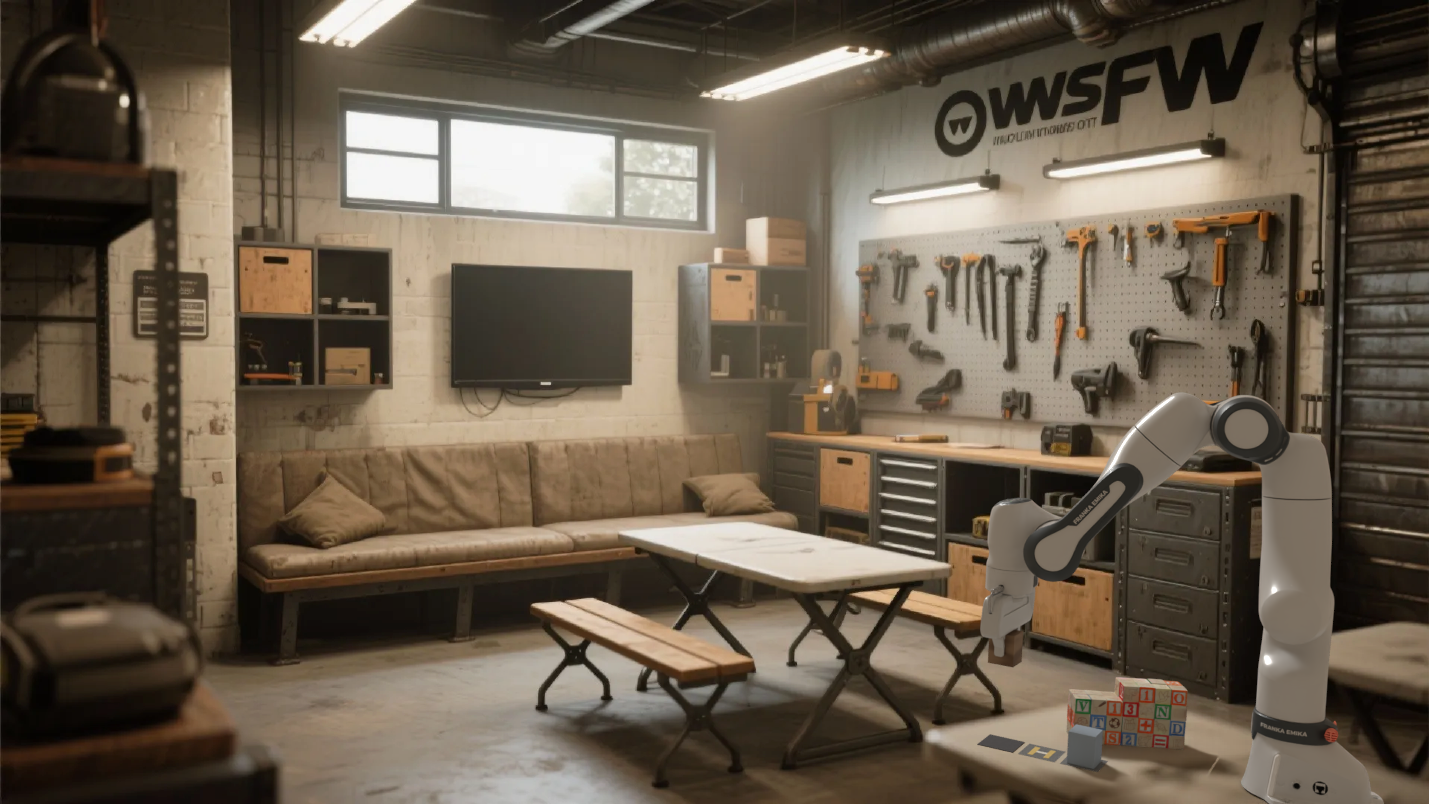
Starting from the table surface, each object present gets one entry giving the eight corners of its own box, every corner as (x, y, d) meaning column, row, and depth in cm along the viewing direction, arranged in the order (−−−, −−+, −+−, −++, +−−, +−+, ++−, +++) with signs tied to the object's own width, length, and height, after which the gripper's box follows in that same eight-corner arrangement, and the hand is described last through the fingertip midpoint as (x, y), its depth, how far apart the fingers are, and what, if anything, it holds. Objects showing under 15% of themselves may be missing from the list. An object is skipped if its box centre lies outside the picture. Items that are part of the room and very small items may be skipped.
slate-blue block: (1101, 761, 221) (1102, 729, 220) (1093, 769, 216) (1095, 737, 216) (1074, 755, 223) (1076, 724, 223) (1066, 762, 219) (1068, 731, 219)
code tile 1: (1065, 753, 225) (1065, 751, 225) (1054, 763, 219) (1054, 762, 219) (1029, 745, 229) (1029, 743, 229) (1017, 755, 223) (1017, 753, 223)
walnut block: (1021, 661, 228) (1023, 631, 228) (1013, 667, 224) (1014, 636, 224) (996, 657, 231) (998, 627, 231) (987, 662, 227) (989, 632, 226)
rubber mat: (1024, 743, 230) (1024, 741, 230) (1012, 754, 224) (1012, 752, 224) (989, 736, 233) (990, 734, 233) (977, 746, 228) (977, 744, 228)
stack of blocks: (1072, 744, 231) (1075, 682, 230) (1065, 733, 237) (1068, 673, 236) (1184, 751, 229) (1188, 689, 228) (1175, 740, 235) (1178, 680, 234)
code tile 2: (1107, 762, 221) (1108, 760, 221) (1097, 773, 215) (1097, 772, 215) (1070, 754, 225) (1070, 752, 225) (1059, 765, 219) (1059, 763, 219)
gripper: (1006, 593, 216) (1003, 667, 217) (1041, 575, 233) (1037, 644, 234) (973, 588, 220) (970, 660, 220) (1010, 571, 237) (1007, 638, 238)
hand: (1005, 652), depth 227 cm, fingers closed on walnut block, 5 cm apart
